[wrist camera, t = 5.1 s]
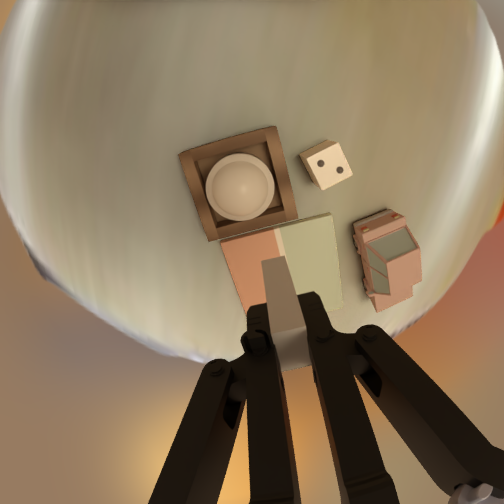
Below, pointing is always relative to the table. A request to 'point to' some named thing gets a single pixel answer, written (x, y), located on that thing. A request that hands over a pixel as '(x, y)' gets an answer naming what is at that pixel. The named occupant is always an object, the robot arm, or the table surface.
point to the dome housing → (254, 142)
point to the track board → (288, 260)
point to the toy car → (387, 258)
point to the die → (326, 164)
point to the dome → (240, 186)
